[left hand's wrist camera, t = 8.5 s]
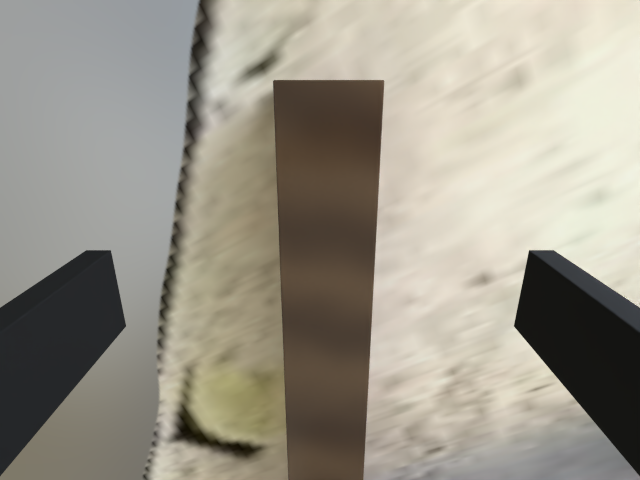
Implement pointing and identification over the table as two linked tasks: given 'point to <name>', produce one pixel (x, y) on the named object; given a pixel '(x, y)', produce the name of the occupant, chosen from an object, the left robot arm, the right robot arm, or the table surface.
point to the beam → (327, 266)
